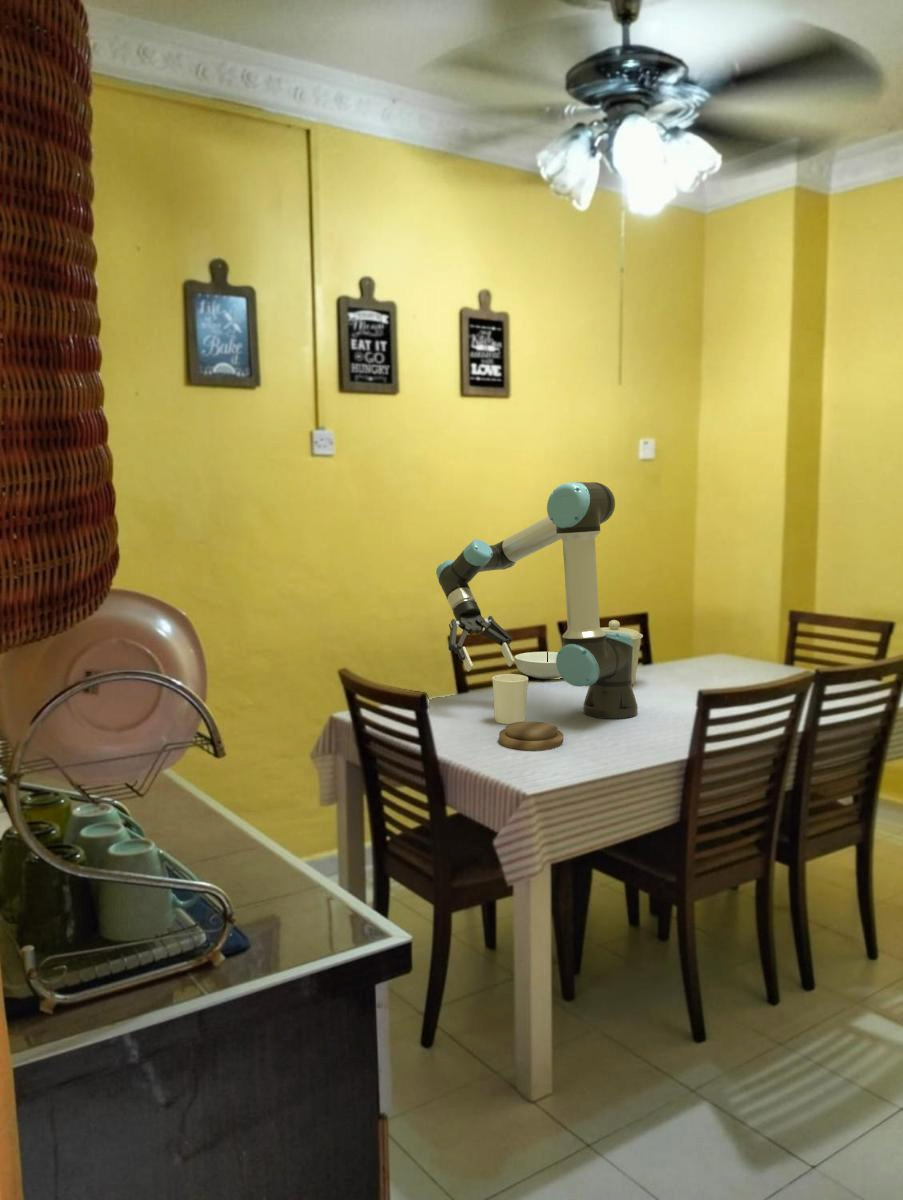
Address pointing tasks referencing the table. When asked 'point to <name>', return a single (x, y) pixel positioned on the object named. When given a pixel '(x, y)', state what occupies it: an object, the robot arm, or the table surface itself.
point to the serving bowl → (538, 664)
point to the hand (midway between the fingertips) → (491, 666)
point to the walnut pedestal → (530, 736)
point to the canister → (635, 642)
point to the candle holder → (510, 698)
